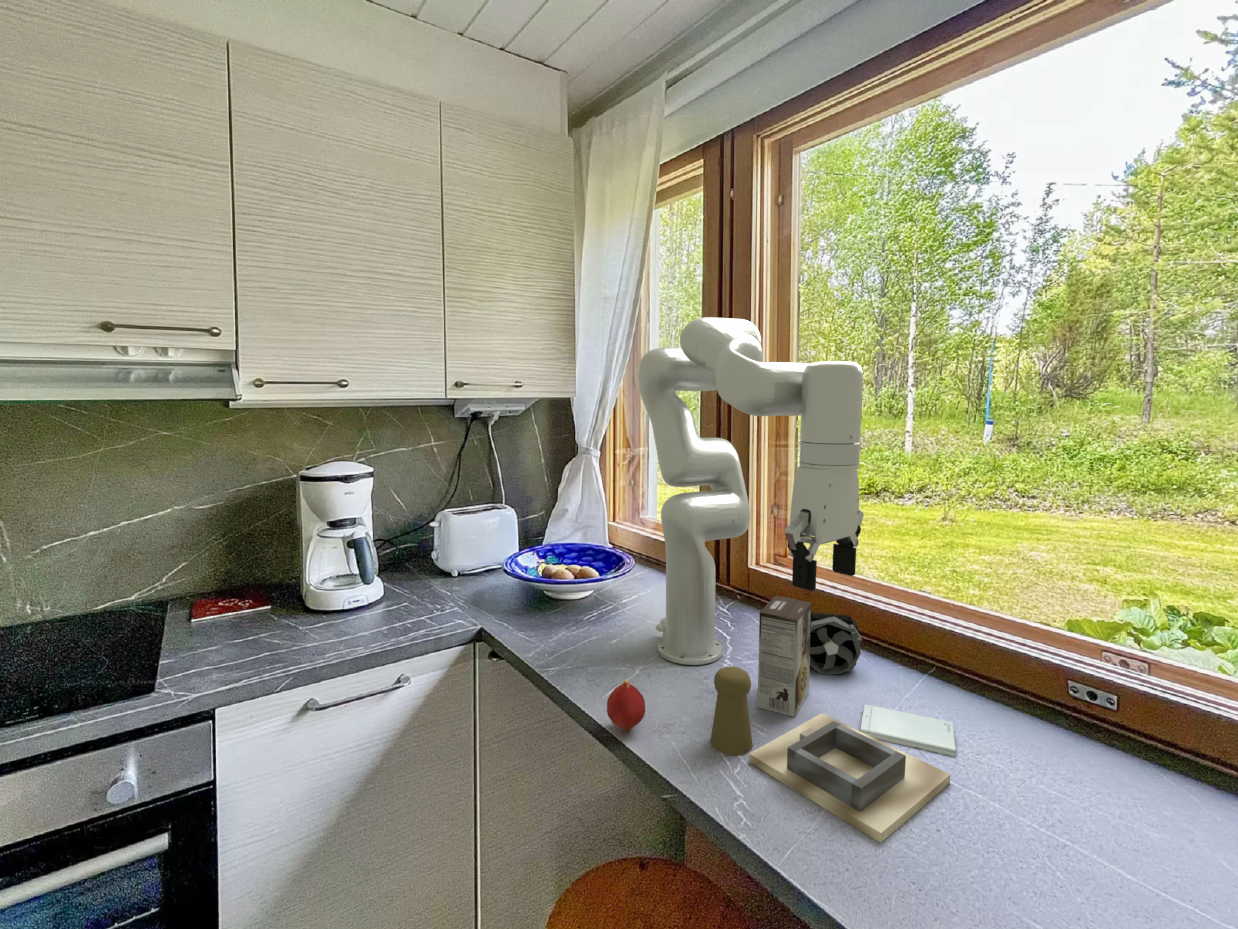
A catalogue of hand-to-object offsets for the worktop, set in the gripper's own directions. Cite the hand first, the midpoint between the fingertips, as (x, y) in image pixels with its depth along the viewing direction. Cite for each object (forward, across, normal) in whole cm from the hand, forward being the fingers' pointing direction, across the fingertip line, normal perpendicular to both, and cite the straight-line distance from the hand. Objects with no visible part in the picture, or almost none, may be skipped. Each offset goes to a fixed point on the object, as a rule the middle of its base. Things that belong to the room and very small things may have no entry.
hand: (824, 580), depth 81 cm
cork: (+25, +8, -9) cm, 28 cm away
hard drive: (+26, -15, +6) cm, 30 cm away
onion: (+25, +17, -22) cm, 37 cm away
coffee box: (+25, -8, -12) cm, 29 cm away
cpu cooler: (+25, -24, -13) cm, 38 cm away
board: (+25, +1, +5) cm, 25 cm away
